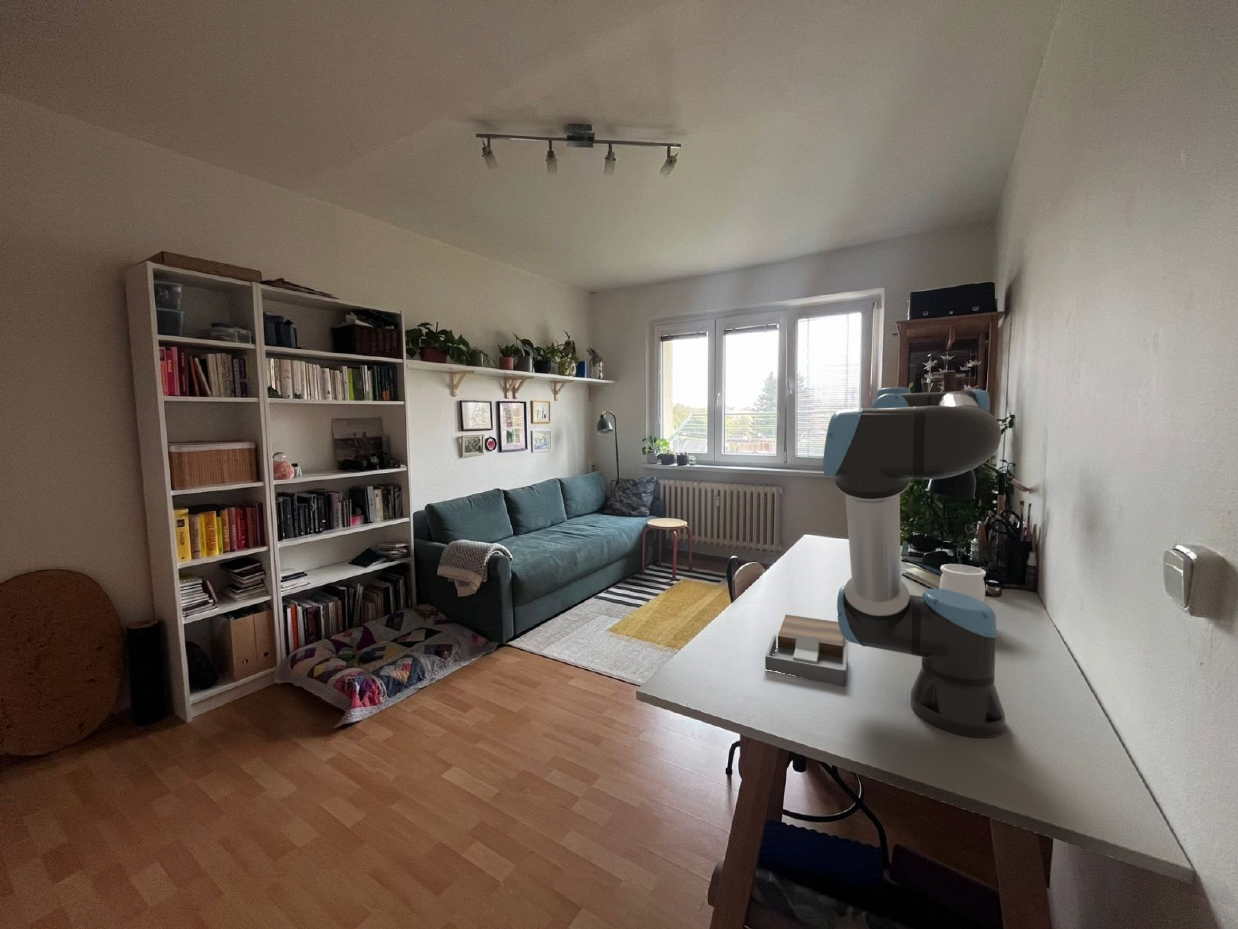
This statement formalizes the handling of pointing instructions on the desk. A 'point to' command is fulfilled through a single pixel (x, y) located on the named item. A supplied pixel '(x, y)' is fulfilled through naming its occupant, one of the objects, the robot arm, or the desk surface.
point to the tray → (807, 665)
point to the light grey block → (806, 656)
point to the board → (812, 634)
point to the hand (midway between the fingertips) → (890, 542)
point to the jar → (963, 580)
